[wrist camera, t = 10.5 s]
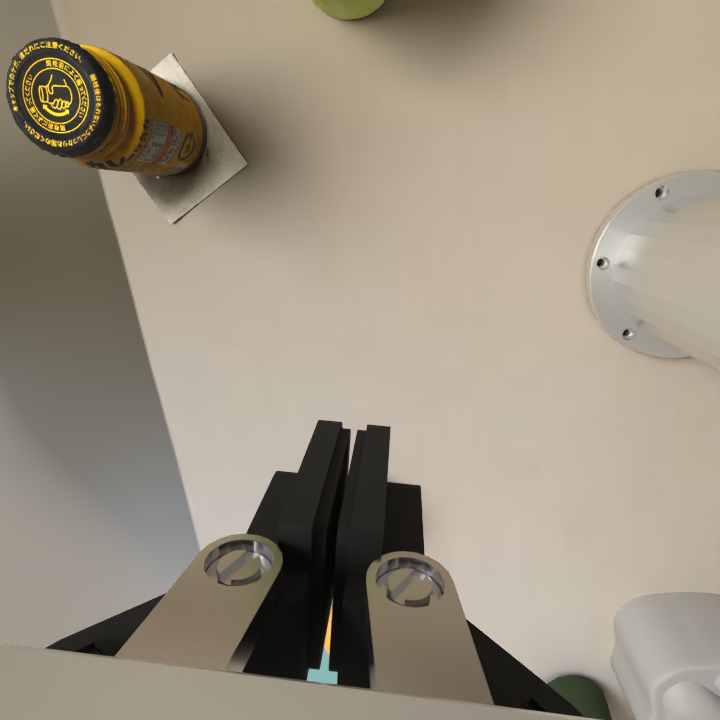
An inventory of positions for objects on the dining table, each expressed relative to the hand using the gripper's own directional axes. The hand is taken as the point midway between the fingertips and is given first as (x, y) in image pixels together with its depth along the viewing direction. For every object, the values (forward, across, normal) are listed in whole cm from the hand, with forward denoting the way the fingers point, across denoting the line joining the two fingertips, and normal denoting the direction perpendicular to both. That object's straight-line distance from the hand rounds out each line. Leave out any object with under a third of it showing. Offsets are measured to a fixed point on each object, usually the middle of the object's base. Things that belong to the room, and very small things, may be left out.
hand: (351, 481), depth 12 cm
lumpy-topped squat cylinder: (+27, -29, +29) cm, 49 cm away
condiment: (+27, +16, -9) cm, 33 cm away
